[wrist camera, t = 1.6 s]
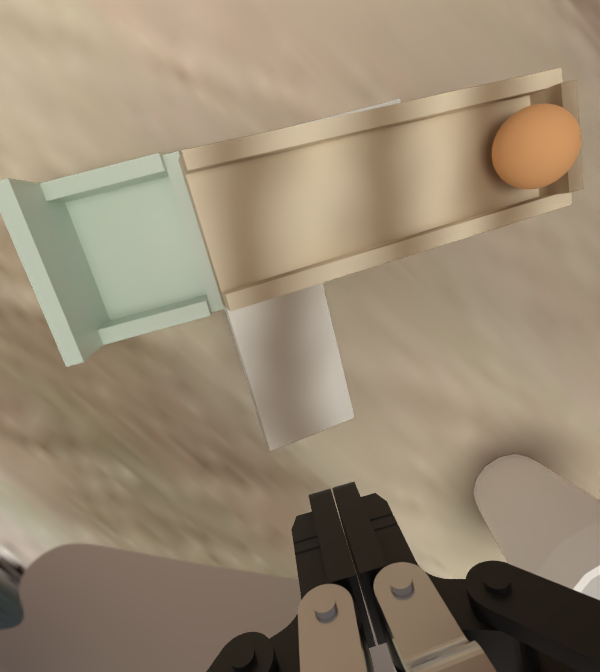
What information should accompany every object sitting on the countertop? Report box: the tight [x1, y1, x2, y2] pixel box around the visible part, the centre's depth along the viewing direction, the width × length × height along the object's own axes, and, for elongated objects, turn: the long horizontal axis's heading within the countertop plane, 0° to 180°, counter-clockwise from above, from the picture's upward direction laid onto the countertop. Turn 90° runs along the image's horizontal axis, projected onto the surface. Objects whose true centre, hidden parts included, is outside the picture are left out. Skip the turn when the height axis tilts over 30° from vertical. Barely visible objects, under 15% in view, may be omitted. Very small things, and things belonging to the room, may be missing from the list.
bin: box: [0, 151, 224, 367], centre depth 27 cm, size 9×10×7 cm
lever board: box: [178, 68, 584, 451], centre depth 25 cm, size 20×15×5 cm
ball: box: [492, 103, 581, 189], centre depth 23 cm, size 4×4×4 cm
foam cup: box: [473, 454, 600, 600], centre depth 33 cm, size 10×9×13 cm
